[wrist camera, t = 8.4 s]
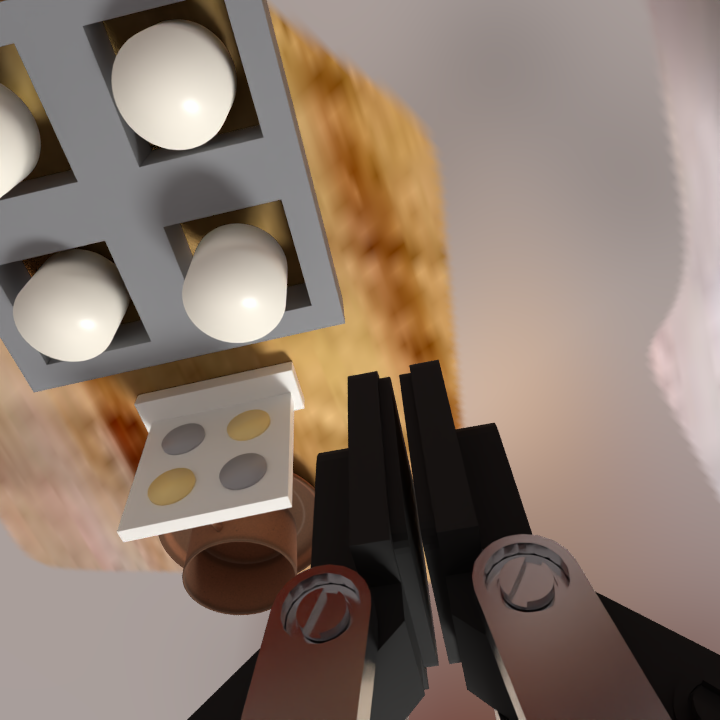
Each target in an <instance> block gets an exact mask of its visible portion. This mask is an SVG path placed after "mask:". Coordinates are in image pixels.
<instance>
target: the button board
mask: <svg viewBox="0 0 720 720" xmlns="http://www.w3.org/2000/svg"><path fill="white" fill-rule="evenodd" d="M180 1H184V0H6V1H2V2H0V47H1V46H5V45H9V44H13V43H14V44H15V46H16V49H17V51H18V53H19V55H20V57H21V59H22V62H23V64H24V66H25V68H26V70H27V72H28V75H29V77H30V79H31V81H32V83H33V86H34V88H35V90H36V92H37V94H38V96H39V99H40V101H41V103H42V105H43V107H44V109H45V112H46V114H47V116H48V118H49V120H50V122H51V125H52V127H53V129H54V131H55V133H56V135H57V138H58V140H59V142H60V144H61V146H62V149H63V151H64V153H65V155H66V157H67V159H68V162H69V164H70V166H71V168H72V170H69V171H65V172H60V173H56V174H52V175H48V176H44V177H40V178H35V179H31V180H27V181H23V182H19V183H18V184H17V185H16V186H14V187H13V188H12V189H11V190H9V191H8V192H7V193H6V194H4V195H3V196H2V197H1V198H0V338H1V339H2V341H3V343H4V344H5V346H6V348H7V349H8V351H9V352H10V354H11V356H12V357H13V359H14V361H15V362H16V364H17V366H18V367H19V369H20V370H21V372H22V374H23V375H24V377H25V379H26V380H27V382H28V384H29V385H30V387H31V388H32V390H33V392H38V391H42V390H47V389H51V388H56V387H60V386H65V385H69V384H74V383H78V382H83V381H87V380H92V379H96V378H101V377H105V376H110V375H114V374H119V373H123V372H128V371H132V370H137V369H141V368H146V367H150V366H155V365H159V364H164V363H168V362H173V361H177V360H182V359H186V358H191V357H195V356H200V355H204V354H209V353H213V352H218V351H222V350H227V349H231V348H236V347H240V346H245V345H249V344H254V343H258V342H263V341H267V340H272V339H276V338H281V337H285V336H290V335H294V334H299V333H303V332H308V331H312V330H317V329H321V328H326V327H330V326H335V325H339V324H344V323H345V318H344V309H343V300H342V295H341V291H340V287H339V283H338V279H337V275H336V271H335V268H334V264H333V260H332V256H331V252H330V248H329V244H328V240H327V236H326V232H325V228H324V224H323V220H322V217H321V213H320V209H319V205H318V201H317V197H316V193H315V189H314V185H313V181H312V177H311V173H310V169H309V166H308V162H307V158H306V154H305V150H304V146H303V142H302V138H301V134H300V130H299V126H298V122H297V119H296V115H295V111H294V107H293V103H292V99H291V95H290V91H289V87H288V83H287V79H286V75H285V71H284V68H283V64H282V60H281V56H280V52H279V48H278V44H277V40H276V36H275V32H274V28H273V24H272V20H271V17H270V13H269V9H268V5H267V1H266V0H224V1H225V4H226V8H227V11H228V15H229V18H230V22H231V25H232V29H233V32H234V36H235V39H236V43H237V46H238V50H239V53H240V57H241V60H242V64H243V67H244V71H245V74H246V78H247V81H248V85H249V88H250V92H251V95H252V99H253V102H254V106H255V109H256V113H257V116H258V120H259V123H260V125H256V126H252V127H248V128H244V129H240V130H235V131H231V132H227V133H223V134H219V135H215V136H214V137H213V138H211V139H210V140H209V141H207V142H206V143H204V144H202V145H200V146H198V147H195V148H192V149H186V150H172V149H166V148H160V149H156V150H152V149H151V147H150V144H149V142H148V141H147V140H145V139H144V138H142V137H141V136H139V135H138V134H137V133H136V132H135V131H134V130H133V129H132V128H131V127H130V126H129V125H128V124H127V122H126V121H125V120H124V118H123V117H122V115H121V113H120V111H119V109H118V107H117V105H116V102H115V99H114V95H113V91H112V81H111V80H112V69H113V64H114V61H115V58H116V56H115V53H114V50H113V48H112V45H111V43H110V40H109V37H108V35H107V32H106V30H105V27H104V24H103V22H102V21H104V20H108V19H112V18H116V17H120V16H124V15H128V14H132V13H136V12H140V11H144V10H148V9H152V8H156V7H160V6H164V5H168V4H172V3H176V2H180ZM277 200H282V203H283V207H284V210H285V214H286V217H287V221H288V224H289V228H290V231H291V235H292V238H293V242H294V245H295V249H296V252H297V256H298V259H299V263H300V266H301V270H302V273H303V277H304V280H305V283H302V284H298V285H293V286H289V287H287V293H286V307H285V311H284V314H283V317H282V319H281V320H280V322H279V323H278V325H277V326H276V327H275V328H274V329H273V330H272V331H271V332H270V333H268V334H267V335H265V336H264V337H262V338H259V339H257V340H254V341H251V342H245V343H230V342H224V341H221V340H217V339H215V338H213V337H211V336H209V335H207V334H205V333H204V332H202V331H201V330H200V329H199V328H198V327H197V326H196V325H195V324H194V323H193V322H192V321H191V319H190V318H189V316H188V315H187V312H186V310H185V308H184V305H183V299H182V289H183V284H184V280H185V278H186V275H187V272H188V269H189V267H190V264H191V261H192V258H193V256H192V253H191V251H190V248H189V245H188V243H187V240H186V238H185V235H184V232H183V230H182V227H181V225H180V223H182V222H187V221H191V220H195V219H200V218H204V217H208V216H212V215H217V214H221V213H225V212H230V211H234V210H238V209H242V208H247V207H251V206H255V205H260V204H264V203H268V202H272V201H277ZM101 241H105V242H106V244H107V246H108V248H109V251H110V253H111V255H112V257H113V259H114V262H115V264H116V266H117V268H118V270H119V272H120V275H121V277H122V279H123V281H124V283H125V285H126V288H127V290H128V292H129V294H130V296H131V298H132V301H133V303H134V305H135V307H136V309H137V312H138V314H139V316H140V318H141V320H139V321H134V322H130V323H125V324H121V325H119V327H118V329H117V331H116V333H115V335H114V337H113V339H112V341H111V343H110V344H109V346H108V347H107V348H106V350H105V351H103V352H102V353H101V354H100V355H98V356H96V357H94V358H92V359H88V360H85V361H76V362H71V361H62V360H58V359H54V358H51V357H49V356H46V355H44V354H42V353H41V352H39V351H37V350H36V349H35V348H33V347H32V346H31V345H30V344H29V343H28V342H26V340H25V339H24V338H23V337H22V335H21V334H20V332H19V331H18V329H17V327H16V324H15V321H14V317H13V306H14V302H15V299H16V297H17V295H18V294H19V292H20V291H21V290H22V289H23V287H24V286H25V285H26V284H27V283H28V281H29V280H30V279H31V276H30V274H29V273H28V271H27V269H26V267H25V265H24V264H23V262H22V260H24V259H28V258H32V257H37V256H41V255H45V254H50V253H54V252H58V251H62V250H67V249H71V248H75V247H80V246H84V245H88V244H92V243H97V242H101Z"/></svg>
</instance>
